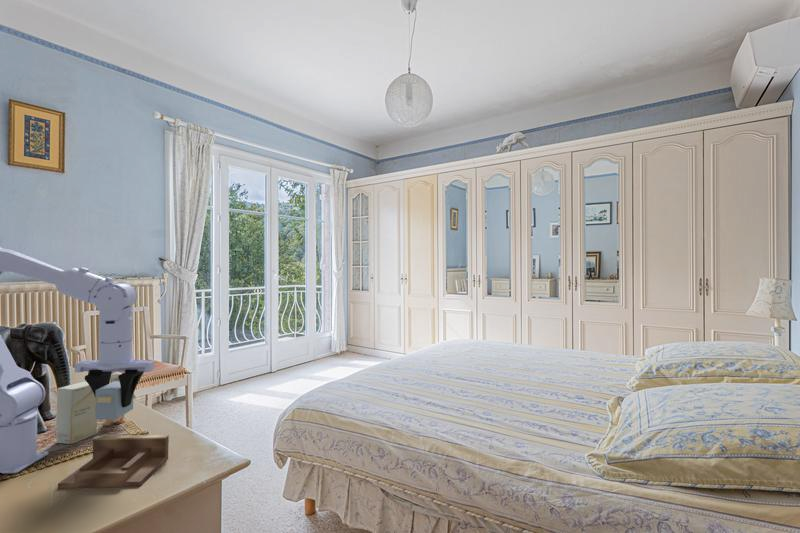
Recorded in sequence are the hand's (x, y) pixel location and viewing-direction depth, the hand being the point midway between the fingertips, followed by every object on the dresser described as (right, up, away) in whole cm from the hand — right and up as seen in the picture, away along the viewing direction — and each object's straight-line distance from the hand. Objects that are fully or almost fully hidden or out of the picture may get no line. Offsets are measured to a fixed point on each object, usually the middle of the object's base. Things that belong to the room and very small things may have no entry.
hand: (114, 405), depth 84 cm
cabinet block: (0, -2, 0) cm, 2 cm away
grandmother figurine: (-12, -10, +17) cm, 24 cm away
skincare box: (-14, -10, +8) cm, 19 cm away
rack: (+5, -11, -6) cm, 13 cm away
